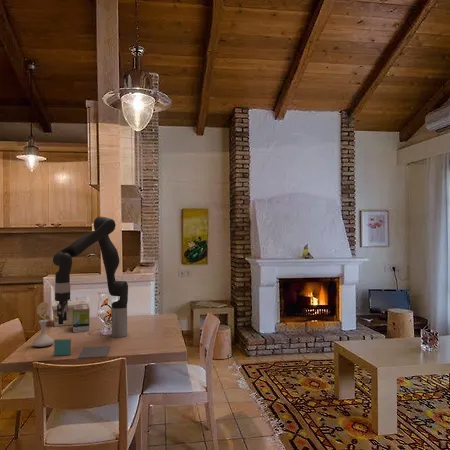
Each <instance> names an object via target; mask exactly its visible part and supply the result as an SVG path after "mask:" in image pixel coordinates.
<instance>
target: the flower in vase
mask: <svg viewBox="0 0 450 450" xmlns="http://www.w3.org/2000/svg"><path fill="white" fill-rule="evenodd" d="M49 307H50V304H49V302H47V301H42V302H40V303H39V304H38V305H37V308H36V314H37V315H38V316H39V317H40V318H41V320H38V323H39V325H40V334H39V336H37V337H36V338H35V339H34V340H33V341H32V343H31V345H32V346H33V347H37V348H38V347H39V348H40V347H41V348H42V347H47V346H50V345H54V340H55V339H53V338H52V337H51V336H50V335H48V334H47V333H46V332H47V331H46V327H47V323H48V321H49V320H51V317H50V315H47V312H48V311H49ZM43 315H45V316H43Z"/></svg>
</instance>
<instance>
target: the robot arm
mask: <svg viewBox="0 0 450 450" xmlns="http://www.w3.org/2000/svg"><path fill="white" fill-rule="evenodd" d="M116 225H117V224H116V222H115V219H112V218H111V217H106V216H97V217H95V219H94V221H93V228H94V229H93V230H94V231H91V232H90V233H87V234H85V235H82V236H81V237H79V238H77V239H76V240H74V241H73V242H72V243H71V244H70V245H68V246H67V247H65V248H63V249H60V250H59V251H58V252H56V253H55V254H54V255H53V257H52V263H53V264H54V265H55V266H57V267H59V268H58V271H57V272H55V276H54V280H55V281H54V302H59V305H57V317H58V324H63V321H66V320H67V311H68V301H71V283H70V282H71V281H70V280H71V276H70V275H71V271H72V266H73V258H74V257H75V258H76V257H78V256H80V255H81V254H82V253H83V252H85V250H87V249H88V248H89V247H92V245H94V244H95V243H97V242H98V246H99V248H100V253H101V259H102V261H103V266H104V270H105V274H106V283H107V288H108V289H107V290H108V293H109V295H110V296H112V297H119V299H118V300H115V301H113V302H112V303H111V337H112V338H124V337H127V336H128V301H129V299H128V297H129V283H128V281H126V280H125V281H124V280H116V276H115V274H116V271H117V270H118V268H119V265H120V258H119V252H118V249H117V248H116V246H115V244H114V243H113V241H112V240H111V238H110V234H112V233H114V232H115V230H116ZM60 313H61V314H60Z"/></svg>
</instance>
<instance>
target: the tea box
mask: <svg viewBox="0 0 450 450" xmlns="http://www.w3.org/2000/svg"><path fill="white" fill-rule="evenodd" d="M89 331H90V305H89V306H88V305H77V306H73V325H72V332H73V333H85V332H89Z"/></svg>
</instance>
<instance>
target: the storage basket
mask: <svg viewBox="0 0 450 450" xmlns="http://www.w3.org/2000/svg"><path fill="white" fill-rule="evenodd" d="M89 303H90V302H89V301H88V299H74V300H73V299H72V300H68V311H67V320H66V321H63V324H58V317H57V305H59V301H52V302H51V305H50V306H51V310H52V317H53V318H52V319H53V327H58V328H59V327H66V326H73V306H77V305H88V306H89V307H90V304H89ZM60 314H61V313H60Z"/></svg>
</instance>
